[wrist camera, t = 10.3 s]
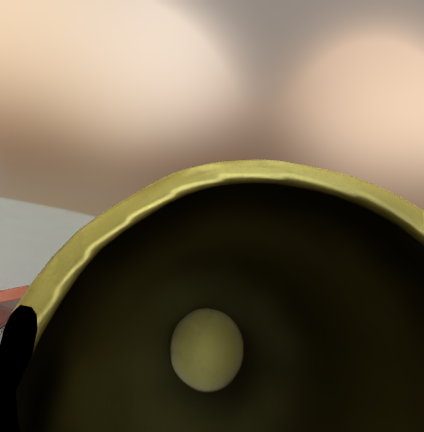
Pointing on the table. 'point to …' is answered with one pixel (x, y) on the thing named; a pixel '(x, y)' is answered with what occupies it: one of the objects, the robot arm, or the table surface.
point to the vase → (227, 310)
